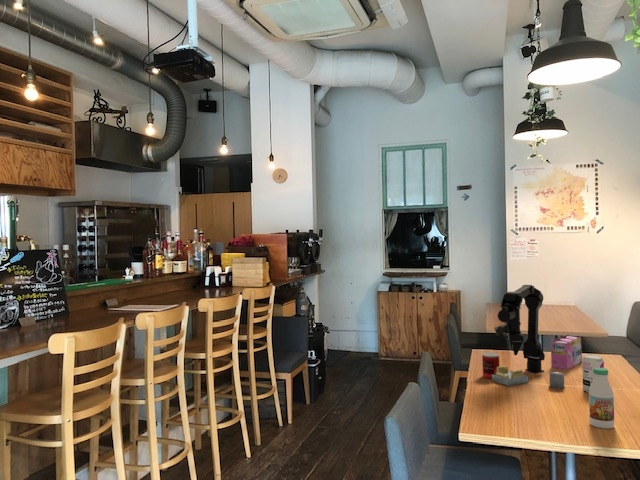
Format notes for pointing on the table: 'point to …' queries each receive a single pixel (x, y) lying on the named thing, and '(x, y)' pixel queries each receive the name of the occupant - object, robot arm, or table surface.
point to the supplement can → (590, 369)
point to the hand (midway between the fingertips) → (514, 352)
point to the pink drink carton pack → (566, 352)
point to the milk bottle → (601, 400)
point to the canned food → (490, 364)
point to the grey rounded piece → (556, 380)
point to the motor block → (509, 376)
